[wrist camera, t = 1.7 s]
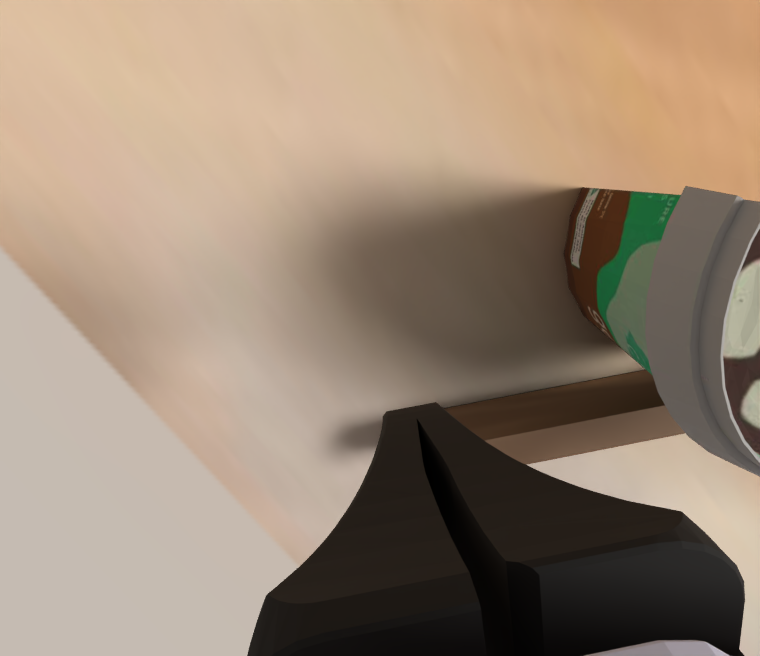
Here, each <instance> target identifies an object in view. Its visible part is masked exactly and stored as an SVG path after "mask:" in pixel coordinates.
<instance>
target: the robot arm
mask: <svg viewBox="0 0 760 656" xmlns="http://www.w3.org/2000/svg"><path fill="white" fill-rule="evenodd" d="M744 602H745V593H744V581H743V578H742V576H741V574H740V572H739V570H738V567H737V565H736V564H735V563H734V562H733V561H732V560H731V559H730V558H729V557H728V556H727V555H726V554H725V553H724V552H723V551H722V550H721V549H720V548H719V547H718V546H717V544H716V543H715V542H714V541H713V540H712V539H711V538H710V537H709V536H708V535H707V534H706V533H705V532H704V531H703V530H702V529H700V528H699V527H698V526H697V525H696V524H695V523H694V522H693V521H692V520H690V519H689V518H688V517H687V516H686V515H685V514H684V513H683V512H681V511H676V510H671V509H666V508H661V507H656V506H650V505H645V504H640V503H635V502H630V501H626V500H622V499H618V498H615V497H611V496H607V495H604V494H600V493H596V492H593V491H590V490H587V489H584V488H581V487H578V486H575V485H572V484H570V483H567V482H564V481H562V480H559V479H556V478H554V477H551V476H549V475H547V474H544V473H542V472H540V471H537V470H535V469H533V468H531V467H529V466H527V465H525V464H523V463H521V462H519V461H517V460H515V459H513V458H512V457H510V456H508V455H506V454H505V453H503V452H501V451H500V450H498V449H497V448H495V447H493V446H492V445H490V444H489V443H487V442H486V441H484V440H483V439H482V438H480V437H479V436H477V435H476V434H475V433H473V432H472V431H471V430H469V429H468V428H467V427H465V426H464V425H463V424H462V423H460V422H459V421H458V420H457V419H456V418H454V417H453V416H452V415H451V414H450V413H448V412H447V411H446V410H445V409H444V408H443V407H442V406H440V405H439V404H438V403H430V404H425V405H420V406H414V407H409V408H403V409H398V410H393V411H387V412H386V413H385V414H384V416H383V424H382V430H381V435H380V439H379V442H378V445H377V448H376V451H375V454H374V457H373V460H372V463H371V465H370V467H369V469H368V472H367V474H366V476H365V478H364V481H363V483H362V485H361V487H360V489H359V491H358V492H357V494H356V496H355V498H354V499H353V501H352V503H351V504H350V506H349V508H348V509H347V511H346V512H345V514H344V515H343V517H342V518H341V519H340V521H339V522H338V524H337V525H336V527H335V528H334V529H333V531H332V532H331V533H330V534H329V536H328V537H327V538H326V539H325V541H324V542H323V543H322V544H321V545H320V546H319V547H318V548H317V549H316V551H315V552H314V553H313V554H312V555H311V556H310V557H309V558H308V559H307V560H306V561H305V562H304V563H303V564H302V565H301V566H300V567H299V568H297V569H296V570H295V571H294V572H293V573H292V574H291V575H290V576H288V577H287V578H286V579H285V580H284V581H283V582H281V583H280V584H279V585H278V586H277V587H276V588H274V589H273V590H272V591H271V592H269V593H268V594H267V596H266V598H265V600H264V603H263V606H262V608H261V611H260V614H259V617H258V620H257V623H256V627H255V630H254V633H253V637H252V640H251V643H250V647H249V651H248V655H247V656H744V655H743V653H742V652H741V651H740V650H739V645H740V637H741V628H742V620H743V611H744Z"/></svg>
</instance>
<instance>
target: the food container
mask: <svg viewBox="0 0 760 656" xmlns="http://www.w3.org/2000/svg"><path fill="white" fill-rule="evenodd" d="M564 257H565V264H566V271H567V278H568V285H569V289H570V291H571V293H572V295H573V296H574V298H575V300H576V302H577V304H578V306H579V308H580V310H581V311H582V313H583V315H584V316H585V317H586V318H587V319H588V320H590V321H591V322H592V323H593V324H594V325H595V326H596V327H597V328H599V329H600V330H601V331H602V332H603V333H604V334H605V335H607V336H608V337H609V338H610V339H611V340H612V341H614V342H615V343H616V344H617V345H618V346H619V347H620V348H622V349H623V350H624V351H625V352H626V353H627V354H629V355H630V356H631V357H632V358H633V359H634V360H635V361H637V362H638V363H639V364H640V365H641V366H642V367H643V368H645V369H646V370H647V371H648V372H649V373H650V374H652V375H653V378H654V381H655V384H656V388H657V391H658V393H659V395H660V397H661V399H662V401H663V402H664V404H665V406H666V408H667V410H668V411H669V413H670V415H671V417H672V418H673V419H674V420H675V421H676V423H677V424H678V425H679V426H680V427H681V428H682V430H683V431H684V432H685V433H686V434H687V435H688V437H690V438H691V439H692V440H694V441H695V442H696V443H698V444H699V445H700V446H702V447H703V448H704V449H705V450H707V451H708V452H710V453H712V454H714V455H716V456H718V457H720V458H722V459H724V460H726V461H728V462H730V463H732V464H734V465H736V466H738V467H741V468H743V469H745V470H747V471H749V472H751V473H753V474H755V475H758V476H760V202H757V201H750V200H744V199H743V198H741V197H739V196H736V195H731V194H726V193H720V192H715V191H709V190H704V189H699V188H693V187H688V186H685V188H684V190H683V192H682V194H681V195H673V194H660V193H648V192H635V191H622V190H609V189H596V188H584V187H583V188H582V190H581V192H580V195H579V197H578V199H577V201H576V204H575V206H574V208H573V211H572V213H571V215H570V220H569V226H568V232H567V238H566V244H565V250H564Z"/></svg>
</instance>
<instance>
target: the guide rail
mask: <svg viewBox="0 0 760 656" xmlns="http://www.w3.org/2000/svg"><path fill="white" fill-rule="evenodd" d="M445 410H446V411H447V412H448V413H450V414H451V415H452V416H453V417H454V418H456V419H457V420H458V421H459V422H460V423H462V424H463V425H464V426H465V427H467V428H468V429H469V430H471V431H472V432H473V433H475V434H476V435H477V436H479V437H480V438H482V439H483V440H484V441H486V442H487V443H489V444H490V445H492V446H493V447H495V448H497V449H498V450H500V451H501V452H503V453H505V454H506V455H508V456H510V457H512V458H513V459H515V460H517V461H519V462H521V463H523V464H525V465H526V464H531V463H536V462H541V461H547V460H552V459H557V458H562V457H567V456H572V455H577V454H582V453H587V452H592V451H597V450H602V449H607V448H613V447H618V446H623V445H628V444H633V443H638V442H643V441H648V440H653V439H658V438H663V437H668V436H673V435H679V434H684V433H685V432H684V431H683V430H682V428H681V427H680V426H679V425H678V424H677V423H676V421H675V420H674V419H673V418H672V417H671V415H670V413H669V411H668V410H667V408H666V406H665V404H664V402H663V401H662V399H661V397H660V395H659V393H658V391H657V388H656V384H655V381H654V378H653V375H652V374H650V373H649V372H648V371H647V370H643V371H638V372H632V373H627V374H622V375H617V376H612V377H606V378H601V379H596V380H591V381H585V382H580V383H575V384H570V385H565V386H559V387H554V388H549V389H544V390H539V391H533V392H528V393H523V394H518V395H512V396H507V397H502V398H497V399H492V400H486V401H481V402H476V403H471V404H465V405H460V406H455V407H450V408H445Z"/></svg>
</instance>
